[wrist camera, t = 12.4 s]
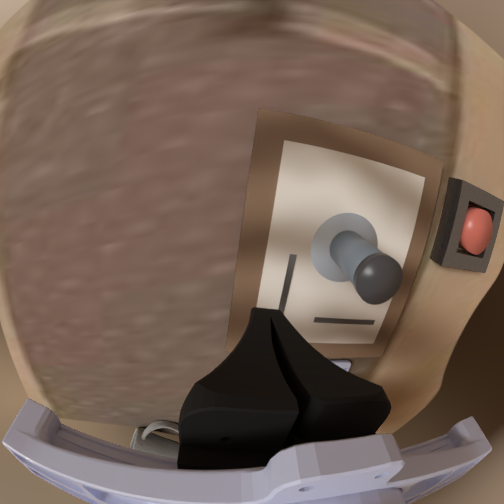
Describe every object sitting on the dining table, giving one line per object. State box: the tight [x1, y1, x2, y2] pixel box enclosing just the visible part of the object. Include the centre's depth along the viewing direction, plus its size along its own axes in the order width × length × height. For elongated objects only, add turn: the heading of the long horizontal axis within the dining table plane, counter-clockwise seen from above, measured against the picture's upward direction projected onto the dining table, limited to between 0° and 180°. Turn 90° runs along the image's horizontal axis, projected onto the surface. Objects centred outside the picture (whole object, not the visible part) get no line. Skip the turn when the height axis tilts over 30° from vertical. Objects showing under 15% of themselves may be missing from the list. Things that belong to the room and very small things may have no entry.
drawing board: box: [226, 108, 443, 358], centre depth 21 cm, size 20×16×1 cm
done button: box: [458, 206, 493, 255], centre depth 19 cm, size 4×4×2 cm
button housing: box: [430, 177, 504, 273], centre depth 20 cm, size 8×8×2 cm
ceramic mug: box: [130, 420, 180, 459], centre depth 27 cm, size 11×8×8 cm
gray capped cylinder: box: [330, 230, 403, 305], centre depth 17 cm, size 3×3×6 cm
